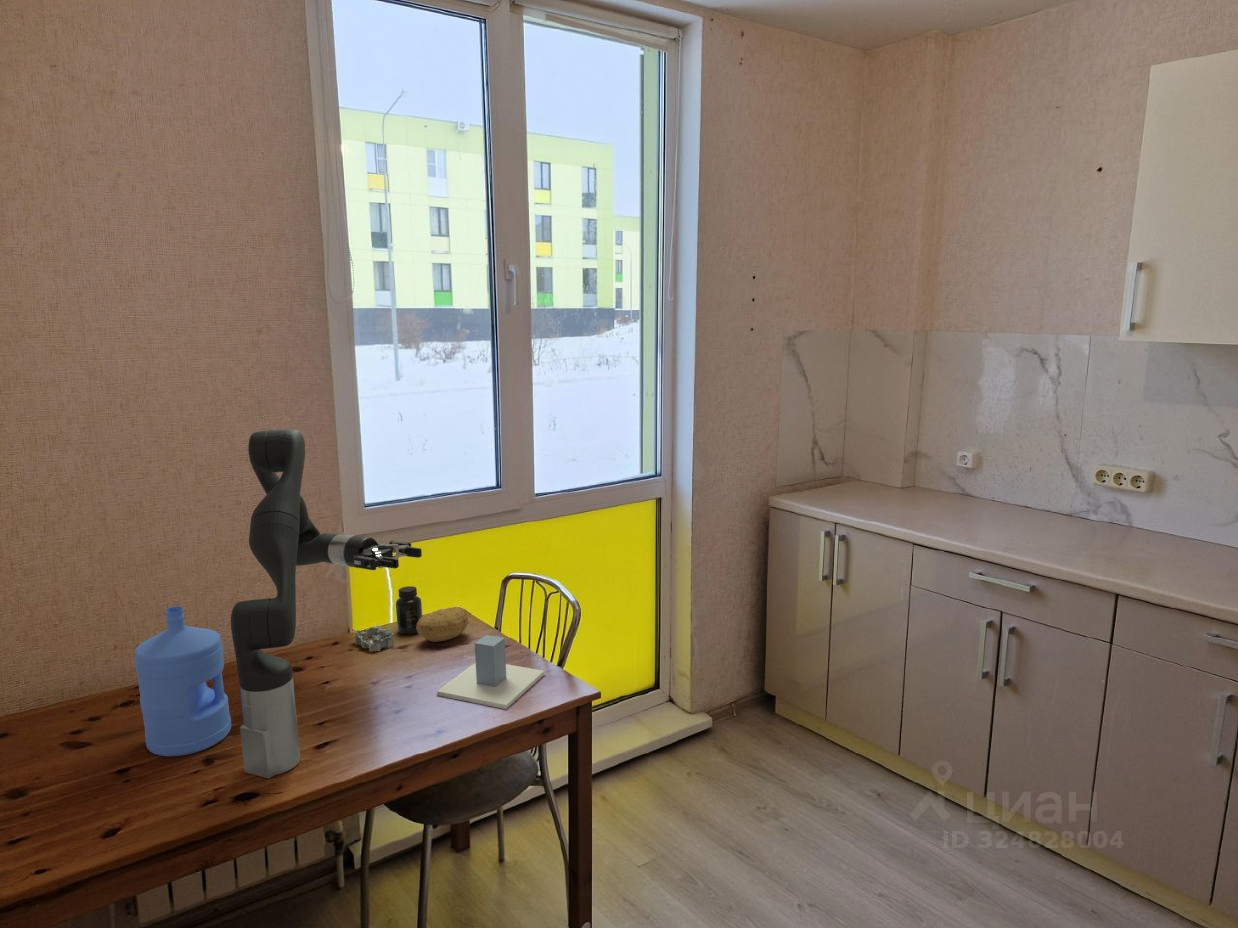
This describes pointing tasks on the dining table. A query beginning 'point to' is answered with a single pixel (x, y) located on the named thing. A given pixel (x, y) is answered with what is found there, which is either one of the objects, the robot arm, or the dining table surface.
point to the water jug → (182, 688)
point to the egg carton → (374, 638)
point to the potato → (442, 624)
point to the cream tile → (487, 695)
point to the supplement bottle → (408, 610)
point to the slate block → (490, 660)
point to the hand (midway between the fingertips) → (409, 558)
